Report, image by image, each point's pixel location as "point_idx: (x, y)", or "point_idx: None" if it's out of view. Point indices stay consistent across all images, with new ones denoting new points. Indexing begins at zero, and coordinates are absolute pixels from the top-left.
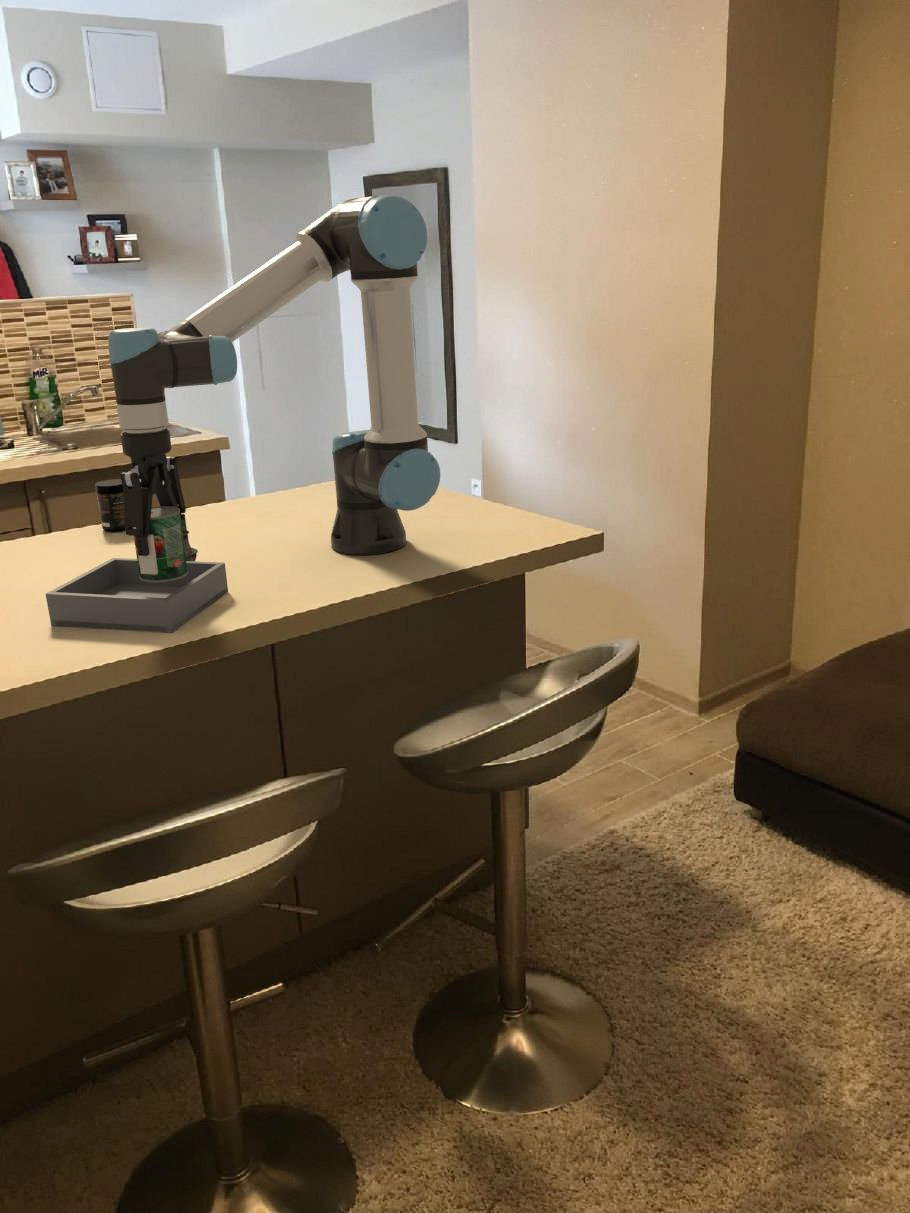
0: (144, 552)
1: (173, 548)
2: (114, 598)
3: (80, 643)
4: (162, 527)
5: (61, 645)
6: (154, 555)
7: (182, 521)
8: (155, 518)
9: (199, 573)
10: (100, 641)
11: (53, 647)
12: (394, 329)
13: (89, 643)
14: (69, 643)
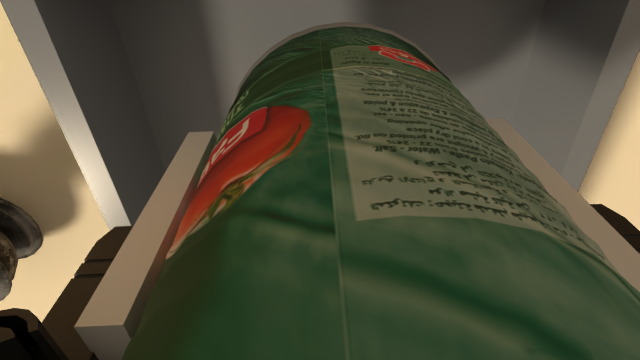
0: (628, 227)
1: (455, 106)
2: (576, 189)
3: (612, 171)
4: None
5: (615, 204)
6: (547, 176)
7: None
8: None
9: (103, 84)
10: (608, 130)
11: (625, 213)
12: None
13: (618, 150)
14: (605, 195)
